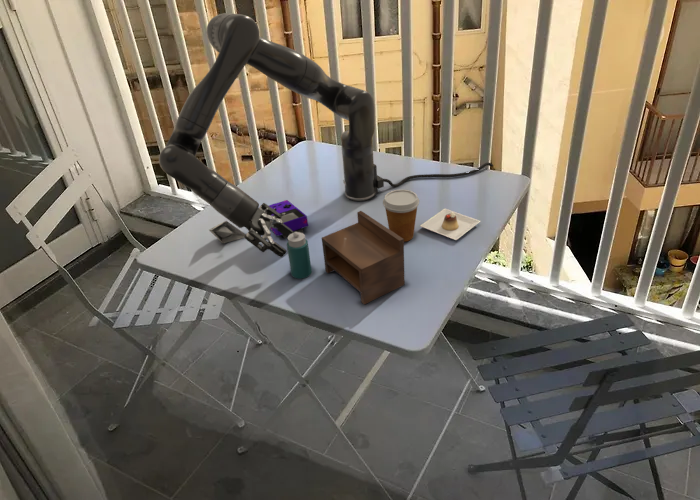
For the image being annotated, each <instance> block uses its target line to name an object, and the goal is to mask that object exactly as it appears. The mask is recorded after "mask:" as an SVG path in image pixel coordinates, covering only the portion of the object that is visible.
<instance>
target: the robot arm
mask: <svg viewBox="0 0 700 500" xmlns="http://www.w3.org/2000/svg"><path fill="white" fill-rule="evenodd" d="M206 36H207V40H208V42H209V44H210V46H211V47H212V48H213V49H214V50H215V51H216V52H217V53H218V55H217V57H216V59H215V61H214V63H213V64H212V66H211V68H209V70H208V72H207V73H206V74H205V76H204V77H203V78H202V79H201V80H200V81H199V82H198V84H196V86H195V87H194V88H193V89H192V91H191V92H190V93H189V94H188V96H187V98H186V99H185V102H184V104H183V106H182V108H181V110H180V112H179V114H178V116H177V119H176V121H175V124H174V128H173V131H172V133H171V135H170V137H169V139H168V141H167V143H166V145H165V146H164V148H163V149H162V150H161V151H160V153H159V155H158V164H159V166H160V168H161V169H162V171H163V172H164V173H165V174H166V175H167V176H170V177H171V178H172V179H173V180H175V181H177V182H178V183H180V184H182V185H183V186H184V187H186V188H187V189H189V190H190V191H192V192H193V193H194V194H195V195H196V196H197V197H198V198H200V200H203V201H204V202H205V203H207V204H208V205H210V206H211V207H212V208H213V209H214V210H215V211H216V212H217V213H218V214H219V215H221V216H222V217H224V218H225V219H227V221H228V222H230V223H231V224H232V225H234V226H235V227H237V228H238V229H242V228H245V229H246V230H247V233H245V234H246V235H245V236H244V237H245V238H244V239H245V240H246V241H247V242H249V243H250V244H251V245H253V246H254V247H255V248H256V249H258V250H259V251H260V252H262V253H265V252H266V251H271V252H272V253H273V254H275V255H276V256H277V257H279V258H283V257H284V256H285V255H286V254H287V253H288V250H287V249H285V248H284V247H283V246H282V245H280V244H279V243H278V242H276V241H275V240H274V239H273V237H272V236H271V235H272V232H271V231H270V230H271V228H276V229H277V230H278V231H279V232H280V233H282V234H283V235H284V236H286V237H287V238H286V239H288V236H289V235H290V234H292V233H293V231H292V230H291V229H290V228H288V227H287V226H286V225H285V224H283V223H282V222H283V221H282V220H281V218H282V215H281V214H279V213H278V212H277V211H275V210H274V209H272V208H271V207H270V206H269V205H268V204H267V203H266V202H262V203H261V205H260V203H259V202H258V201H257V200H255V199H254V198H253V197H252V196H250V195H249V194H247V193H246V192H244V190H243V189H241V188H240V187H238V186H237V185H236V184H234V183H232V182H230V181H229V180H227V179H226V178H224V176H222V175H221V174H219V173H218V172H217V171H215V170H213V169H212V168H210V167H208V165H206V164H205V163H204V162H203V161H201V160H200V159H199V158H197V157H196V155H197V152H198V150H199V147H200V144H201V142H202V141H203V140H204V138H205V137H206V135H207V133H208V131H209V129H210V126H211V125H212V122H213V120H214V118H215V116H216V114H217V112H218V110H219V107H220V106H221V104H222V102H223V100H224V99H225V97H226V96H227V94H228V92H229V90H230V89H231V87H232V86H233V85H234V83H235V82H236V80H237V78H238V76H239V75H240V74H241V73H242V71H243V70H244V68H245V66H246V65H249V66H250V67H252V68H254V69H255V70H257V71H259V72H260V73H262V74H263V75H265V77H268V78H269V79H270V80H273V81H274V82H276V83H278V84H279V85H280V86H283V87H284V88H286V89H288V90H290V91H292V92H294V93H295V94H297V95H300V96H302V97H304V98H307V99H310V100H313V101H316V102H318V103H320V104H321V105H322V106H324V107H325V108H327V109H328V110H329V111H331V112H332V113H334V114H335V116H337V117H339V118H341V119H343V120H345V121H348V129H346V130H345V131H342V133H341V135H340V145H341V156H342V157H341V158H342V170H343V180H342V181H343V184H344V195H345V197H346V199H347V200H350V201H353V202H365V201H369V200H371V199H373V198H374V197H375V196H376V195H377V194H379V189H382V188H384V186H385V183H387V184H388V185H389V186H390V187H392V188H398V187H400V186H401V185H404V183H406V182H407V181H408V180H413V179H421V178H457V177H463V176H467V175H468V176H469V175H472V174H475V173H477V172H480V171H481V170H482V169H484V168H485V167H487V166H488V167H494V164H493V163H491V162H488V161H487V162H485V163H483V164H482V165H480V166H479V167H477V168H476V169H479V170H475V169H472V170H469V171H470V172H469V173H466V172H467V171H465V172H459V173H429V174H427V173H426V174H413V175H409V176H406V177H405V178H403V179H402V180H401V181H400V182H398V183H393V182H392V180H390V179H388V178H383V177H381V176H379V175H378V168H377V164H375V163H374V161H375V160H374V146H373V145H374V144H373V137H374V134H375V128H376V126H375V125H376V124H375V121H376V118H375V117H376V115H375V114H376V110H375V109H376V107H375V100H374V97H373V96H372V94H371V93H370V92H369V91H367V90H364V89H361V88H358V87H355V86H351V85H348V84H345V83H343V82H340V81H338V80H336V79H334V78H332V77H331V76H329V75H328V74H326V72H325V71H324V69H323V68H322V67H321V66H320V65H319V64H318V63H317V62H316V61H314V60H312V59H311V58H309V57H308V56H306V55H304V54H303V53H301V52H300V51H298V50H295V49H293V48H290V47H288V46H285V45H282V44H279V43H277V42H274V41H271V40H269V39H266V38H264V37H262V36H261V35H260V29H259V26H258V24H257V22H256V21H255V20H254V19H253V18H252V17H250V16H248V15H245V14H240V13H232V12H224V13H219V14H217V15H215V16H213V17H212V18H211V19H210V20H209V21H208V23H207V26H206ZM272 214H274V215H275V216H276V217H275V216H271V215H272ZM260 243H261V244H262V245H261V244H260Z"/></svg>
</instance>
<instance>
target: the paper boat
mask: <svg viewBox="0 0 700 500" xmlns="http://www.w3.org/2000/svg"><path fill="white" fill-rule="evenodd" d="M208 231H209V232H210V233H211V234H212V235H213V236H214V237H215V238H216V239H217V240H219V241H220V242H221V243H222V244H226V243H230V242H234V241H237V240H241V239H245V237H244V236H245V235H246V234H247V233H244V232H243V231H242V230H240V228H238V227H237V226H236V225H234V224H233V223H231V222H230V221H229V220H224V221H223V222H221V223H219V224H217V225H215V226H213V227H211V228H210V229H208Z"/></svg>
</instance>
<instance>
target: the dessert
mask: <svg viewBox="0 0 700 500" xmlns="http://www.w3.org/2000/svg"><path fill="white" fill-rule="evenodd" d="M480 222H481V220H479V219H476V218H474V217H471V216H468V215H465V214H462V213H459V212H456V211H453V210H450V209H448V208H443V209H442V210H440V211H438V212H437V213H436V214H435V215H433V216H432V217H430V218H429V219H427V220H425V222H423V223H422V224H420V225H419V227H421V228H423V229H426V230H428V231H431V232H434V233H437V234H439V235H442V236H444V237H447V238H448V239H449V238H450V239H452V240H455V241H457V240H459V239H460V238H462V236H464V235H465V234H467V232H469V231H470V230H471V229H473V228H475V227H476V226H477V225H478V224H479V223H480Z"/></svg>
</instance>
